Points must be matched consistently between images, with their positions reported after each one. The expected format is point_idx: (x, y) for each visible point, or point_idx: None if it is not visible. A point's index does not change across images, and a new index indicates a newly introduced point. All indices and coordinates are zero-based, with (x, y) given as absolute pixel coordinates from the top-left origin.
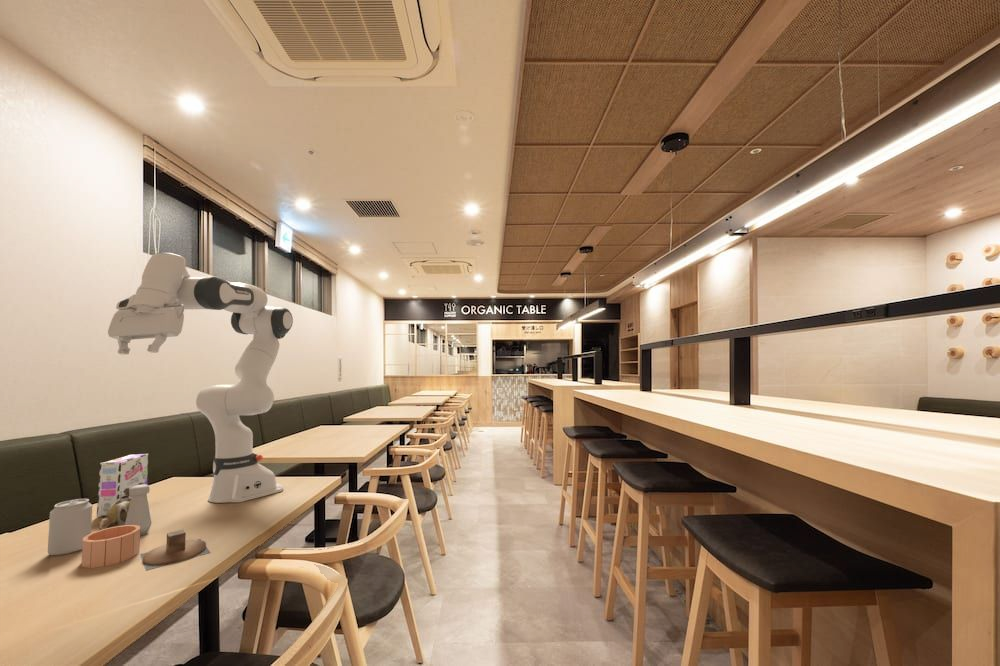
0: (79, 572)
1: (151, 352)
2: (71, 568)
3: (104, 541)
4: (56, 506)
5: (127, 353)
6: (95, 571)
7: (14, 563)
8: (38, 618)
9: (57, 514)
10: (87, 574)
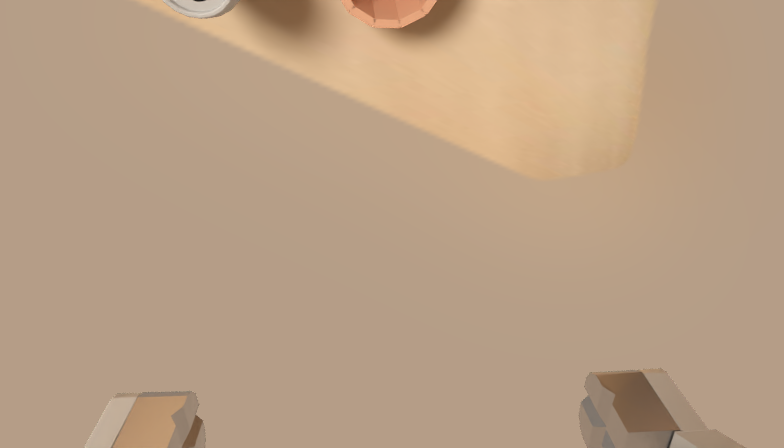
0: None
1: (591, 383)
2: None
3: (424, 15)
4: (197, 17)
5: (188, 402)
6: None
7: None
8: (487, 131)
9: (220, 15)
10: None
